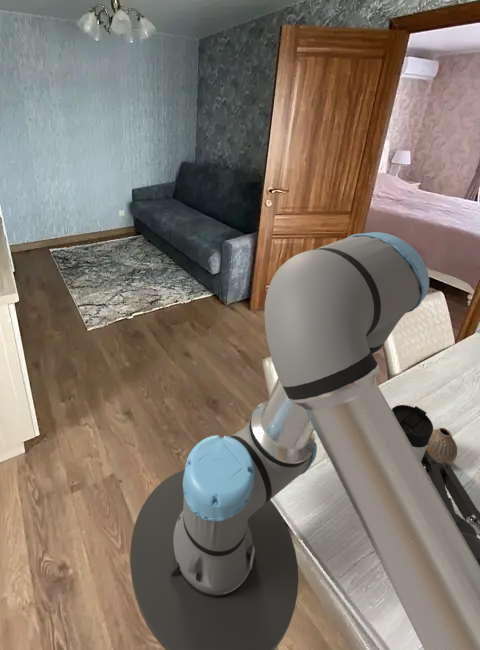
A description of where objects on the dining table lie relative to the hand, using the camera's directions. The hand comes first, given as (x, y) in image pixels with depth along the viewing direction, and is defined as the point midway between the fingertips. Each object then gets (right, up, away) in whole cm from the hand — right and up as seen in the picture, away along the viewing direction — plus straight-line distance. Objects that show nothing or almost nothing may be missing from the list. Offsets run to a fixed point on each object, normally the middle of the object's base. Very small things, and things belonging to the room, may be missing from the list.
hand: (384, 429), depth 67 cm
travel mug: (0, -12, 0) cm, 12 cm away
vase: (+23, -17, +18) cm, 34 cm away
